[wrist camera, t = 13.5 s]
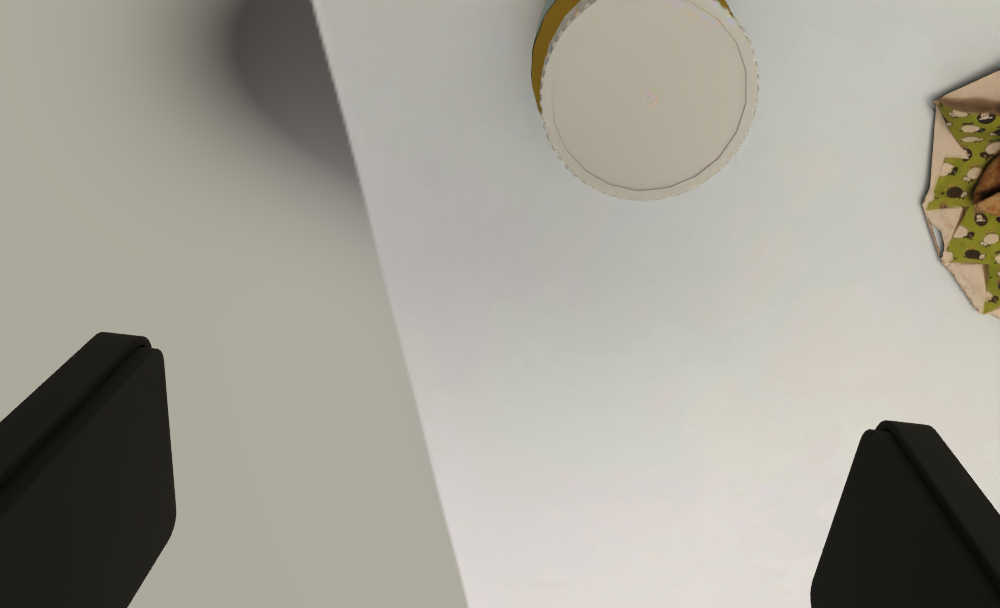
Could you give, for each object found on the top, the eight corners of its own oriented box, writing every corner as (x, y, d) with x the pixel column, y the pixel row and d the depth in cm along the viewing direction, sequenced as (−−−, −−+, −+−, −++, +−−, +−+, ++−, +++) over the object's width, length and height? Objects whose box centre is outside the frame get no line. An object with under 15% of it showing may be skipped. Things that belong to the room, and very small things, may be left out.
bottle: (710, 88, 38) (791, 183, 24) (561, 127, 39) (558, 239, 25) (681, -75, 35) (754, -70, 22) (522, -26, 36) (495, 7, 23)
